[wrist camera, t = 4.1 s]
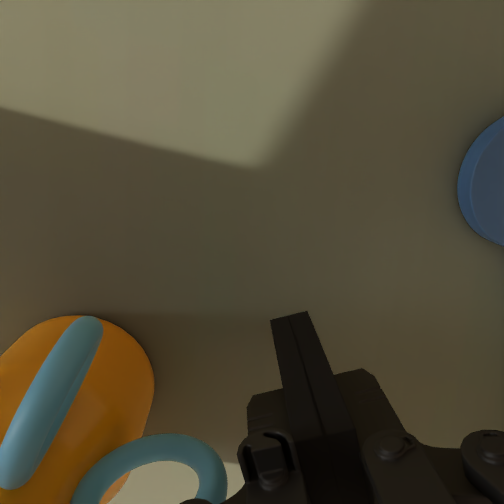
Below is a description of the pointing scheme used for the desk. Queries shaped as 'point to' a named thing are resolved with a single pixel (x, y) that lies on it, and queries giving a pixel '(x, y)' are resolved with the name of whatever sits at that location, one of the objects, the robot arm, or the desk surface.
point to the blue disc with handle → (484, 184)
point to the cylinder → (84, 417)
